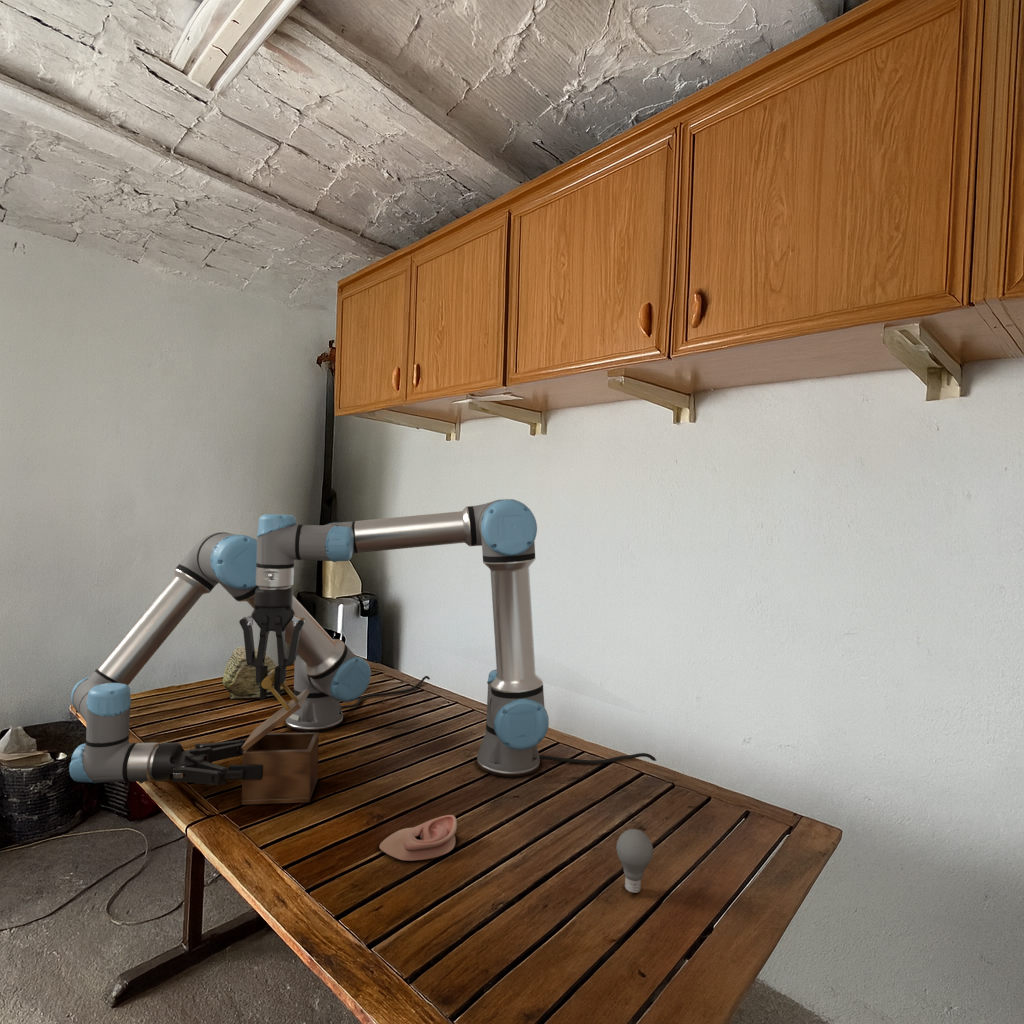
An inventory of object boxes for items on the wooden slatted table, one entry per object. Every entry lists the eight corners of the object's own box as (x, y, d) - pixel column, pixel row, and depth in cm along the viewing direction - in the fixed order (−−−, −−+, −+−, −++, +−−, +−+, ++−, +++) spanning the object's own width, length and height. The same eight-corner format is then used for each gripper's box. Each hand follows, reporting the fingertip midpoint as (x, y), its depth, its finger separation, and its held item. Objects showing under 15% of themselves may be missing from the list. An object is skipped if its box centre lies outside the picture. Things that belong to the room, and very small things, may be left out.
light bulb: (610, 879, 108) (613, 822, 108) (644, 879, 109) (647, 822, 109) (619, 902, 102) (622, 840, 102) (655, 901, 103) (658, 840, 103)
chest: (317, 780, 141) (318, 732, 141) (309, 802, 131) (310, 750, 131) (254, 782, 139) (255, 733, 139) (241, 804, 129) (242, 752, 129)
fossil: (218, 695, 195) (220, 647, 195) (278, 685, 208) (279, 640, 207) (228, 703, 189) (230, 653, 188) (289, 692, 201) (290, 645, 201)
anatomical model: (372, 833, 112) (397, 803, 124) (372, 855, 112) (396, 824, 124) (444, 845, 110) (462, 813, 121) (443, 867, 110) (462, 834, 121)
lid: (309, 692, 140) (283, 660, 139) (300, 707, 130) (272, 673, 129) (257, 732, 139) (230, 700, 138) (244, 751, 129) (215, 717, 128)
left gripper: (177, 757, 143) (279, 756, 146) (131, 806, 120) (253, 804, 123) (179, 724, 143) (281, 724, 146) (133, 767, 120) (255, 765, 123)
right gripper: (231, 588, 129) (227, 703, 129) (308, 590, 131) (303, 703, 132) (241, 583, 136) (237, 692, 137) (314, 585, 139) (310, 692, 139)
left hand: (268, 760), depth 134 cm, fingers closed on chest, 10 cm apart
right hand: (270, 697), depth 134 cm, fingers closed on lid, 2 cm apart
